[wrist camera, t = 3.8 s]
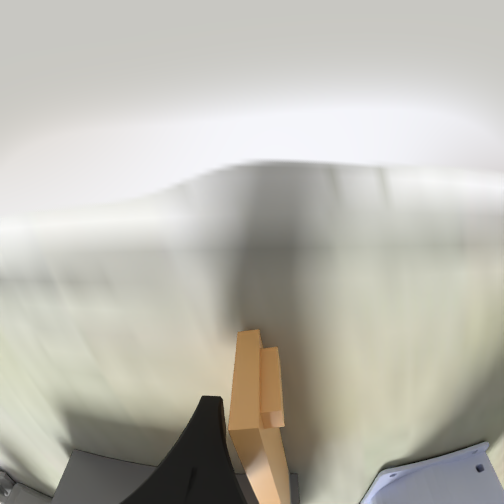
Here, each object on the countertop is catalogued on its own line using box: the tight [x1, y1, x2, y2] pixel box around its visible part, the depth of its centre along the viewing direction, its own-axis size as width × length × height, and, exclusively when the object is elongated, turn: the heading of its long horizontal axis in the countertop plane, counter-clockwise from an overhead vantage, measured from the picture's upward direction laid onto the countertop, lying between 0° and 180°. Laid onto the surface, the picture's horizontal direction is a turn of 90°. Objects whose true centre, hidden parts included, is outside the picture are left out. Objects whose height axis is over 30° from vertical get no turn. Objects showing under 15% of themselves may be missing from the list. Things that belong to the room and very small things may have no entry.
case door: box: [228, 329, 291, 504], centre depth 12 cm, size 12×2×5 cm, turn 10°
